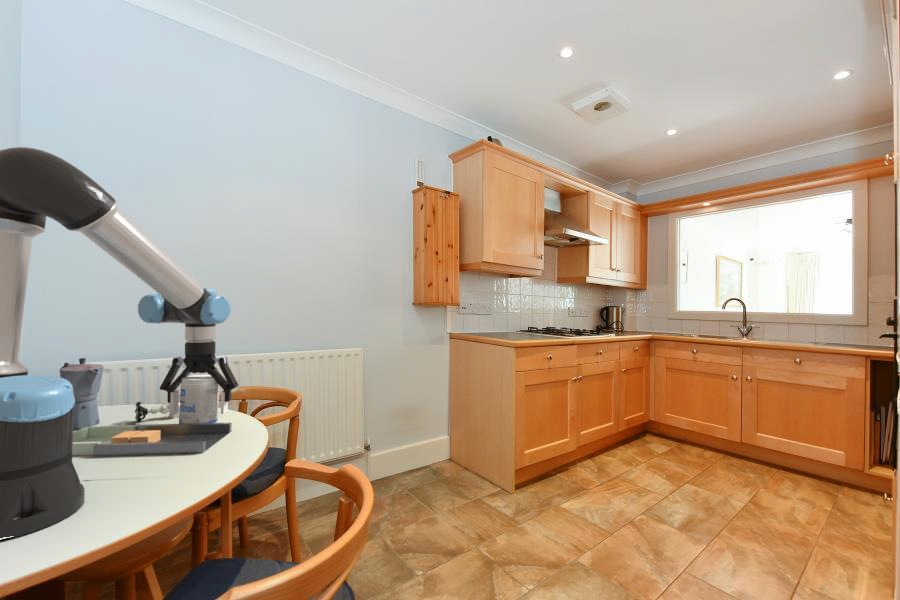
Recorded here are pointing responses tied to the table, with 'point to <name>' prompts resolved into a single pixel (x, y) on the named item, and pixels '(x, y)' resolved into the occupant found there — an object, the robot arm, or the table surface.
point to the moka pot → (84, 391)
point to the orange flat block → (146, 436)
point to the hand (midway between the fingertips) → (199, 413)
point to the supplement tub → (199, 400)
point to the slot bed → (169, 440)
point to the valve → (153, 411)
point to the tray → (95, 437)
